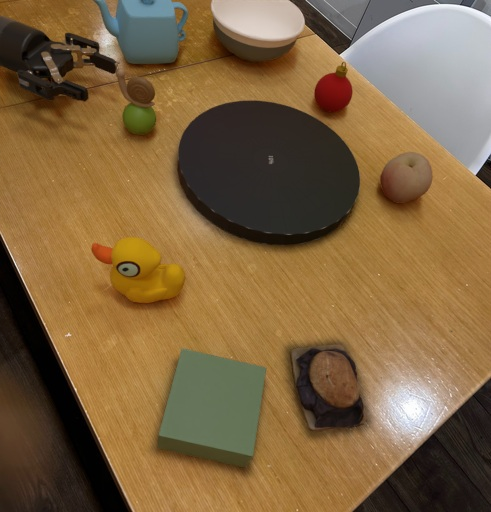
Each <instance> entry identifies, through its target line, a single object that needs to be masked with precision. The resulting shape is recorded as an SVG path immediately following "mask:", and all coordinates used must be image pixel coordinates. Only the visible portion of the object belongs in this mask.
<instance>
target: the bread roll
mask: <svg viewBox="0 0 491 512" xmlns="http://www.w3.org/2000/svg"><path fill="white" fill-rule="evenodd" d="M290 363H291V367H292V368H291V369H292V375H293V381H294V384H295V389H296V393H297V396H298V400H299V402H300V403H299V406H300V408H301V410H302V414H303V416H304V420H305V423H306V426H307V428H308V430H309V431H311V432H316V433H318V432H324V431H334V430H336V429H340V428H341V429H347V428H350V427H351V428H352V427H356V426H361V425H364V424H365V422H366V415H365V411H364V408H365V406H364V402H363V398H362V397H361V394H360V392H361V391H360V389H359V381H358V372H357V366H356V363H355V361H354V359H352V357H351V356H350V355H349V354H348V352H347V351H346V349H345V346H343V345H342V344H340V343H336V344H335V343H334V344H326V345H317V346H314V345H313V346H306V347H296V348H294V347H293V348H291V350H290Z"/></svg>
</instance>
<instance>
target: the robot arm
mask: <svg viewBox="0 0 491 512" xmlns="http://www.w3.org/2000/svg"><path fill="white" fill-rule="evenodd" d="M73 54H76V60H74V55H73ZM83 56H86V57H88V58H83ZM116 62H117V60H115V58H112V57H110V56H108V55H105V54H102V53H100V43H99V42H98V41H95V40H93V39H89V38H87V37H83V36H80V35H78V34H75V33H72V32H65V33H64V40H62V41H54V40H52V39H51V38H50V37H49V36H47V34H46V33H45V32H44V31H42V30H41V29H38V28H35V27H33V26H30V25H27V24H25V23H22V22H20V21H18V20H15V19H12V18H10V17H8V16H5V15H1V14H0V67H1V68H3V69H7V70H9V71H10V72H13V73H16V75H17V79H18V84H19V88H20V89H23V90H25V91H27V92H30V93H31V94H34V95H36V96H38V97H40V98H43V99H45V100H47V101H54V100H55V97H57V96H60V97H62V96H65V97H68V98H71V99H73V100H76V101H79V102H83V103H86V102H87V101H88V100H89V97H90V96H89V90H88V88H87V87H86V86H83V85H80V84H78V83H76V82H74V81H70V80H68V79H64V78H65V77H66V76H67V74H68V73H70V72H71V71H72V70H74V69H81V70H82V69H83V68H84V67H93V66H94V68H97V69H99V70H101V71H104V72H106V73H109V74H112V75H116V68H117V69H118V66H117V67H116V66H115V63H116Z"/></svg>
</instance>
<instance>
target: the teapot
mask: <svg viewBox="0 0 491 512" xmlns="http://www.w3.org/2000/svg"><path fill="white" fill-rule="evenodd" d="M92 1H93V2H94V3H95V4H96V5H97V7H98V9H99V11H100V15H101V19H102V22H103V25H104V27H105V29H106V31H107V32H108V33H109V34H110V35H111V36H112V37H114V38H116V42H117V45H118V48H119V49H120V51H121V53H122V56H123V58H124V60H126V61H127V62H128V63H129V64H132V65H161V64H172V63H175V61H176V59H177V58H178V55H179V50H180V47H179V46H180V42H184V41H185V40H186V37H187V33H186V31H185V30H184V29H183V28H184V27H185V25H186V23H187V22H188V18H189V11H188V8H187V6H185V5H184V4H183V3H182V2H179V1H172V0H117V4H116V11H115V17H114V16H113V15H111V12H110V10H109V7H108V4H107V1H105V0H92ZM175 10H181V11H182V12H183V13H182V16H181V18H180V20H179V22H178V21H177V16H176V11H175ZM180 34H181V35H180Z"/></svg>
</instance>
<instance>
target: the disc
mask: <svg viewBox="0 0 491 512" xmlns="http://www.w3.org/2000/svg"><path fill="white" fill-rule="evenodd" d="M176 171H177V176H178V180H179V185H180V186H181V188H182V191H183V193H184V195H185V197H186V199H187V200H188V201H189V202H190V204H191V205H192V206H193V207H194V208H195V210H196V211H197V212H198V213H199V214H201V216H203V217H204V218H205V219H206V220H207V221H208V222H210V223H211V224H212V225H214V226H215V227H218V228H219V229H221V230H222V231H224V232H226V233H228V234H231V235H233V236H235V237H238V238H240V239H242V240H246V241H250V242H254V243H257V244H262V245H271V246H292V245H302V244H306V243H309V242H313V241H316V240H319V239H321V238H323V237H326V236H327V235H329V234H331V233H333V231H334V230H336V229H337V228H339V226H340V225H342V223H344V221H345V219H346V218H347V216H348V215H349V213H350V211H351V209H352V207H353V206H354V205H355V203H356V201H357V198H358V195H359V192H360V189H361V174H360V170H359V165H358V162H357V159H356V158H355V155H354V154H353V152H352V150H351V149H350V147H349V146H348V145H347V143H346V142H345V141H344V139H343V138H342V137H341V136H340V135H339V134H338V133H337V132H335V131H334V129H332V128H331V127H330V126H329V125H328V124H326V123H325V122H323V121H321V120H320V119H318V118H317V117H315V116H313V115H311V114H309V113H307V112H305V111H303V110H300V109H297V108H295V107H292V106H289V105H287V104H286V105H285V104H281V103H277V102H273V101H266V100H257V99H256V100H255V99H254V100H253V99H252V100H236V101H229V102H225V103H222V104H218V105H215V106H213V107H211V108H208V109H207V110H205V111H203V112H201V113H199V114H198V115H197V116H196V117H194V119H193V120H191V121H190V122H189V124H187V126H186V128H185V129H184V131H183V132H182V135H181V137H180V140H179V143H178V152H177V170H176Z"/></svg>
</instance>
